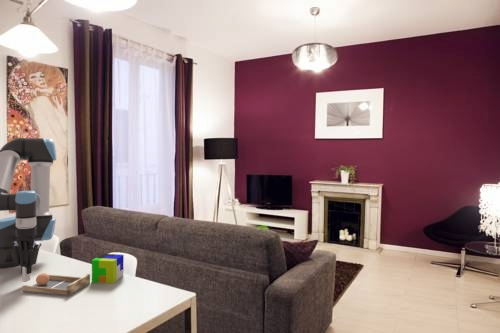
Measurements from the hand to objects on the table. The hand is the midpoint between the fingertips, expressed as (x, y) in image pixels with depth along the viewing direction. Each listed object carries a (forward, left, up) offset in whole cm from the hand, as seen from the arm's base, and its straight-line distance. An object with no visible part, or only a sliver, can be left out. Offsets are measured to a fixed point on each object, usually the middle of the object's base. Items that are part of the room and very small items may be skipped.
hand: (26, 280), depth 152 cm
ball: (0, +8, +1) cm, 8 cm away
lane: (0, +15, -2) cm, 15 cm away
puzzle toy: (-14, +30, -2) cm, 33 cm away
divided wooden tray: (0, +15, -2) cm, 15 cm away
